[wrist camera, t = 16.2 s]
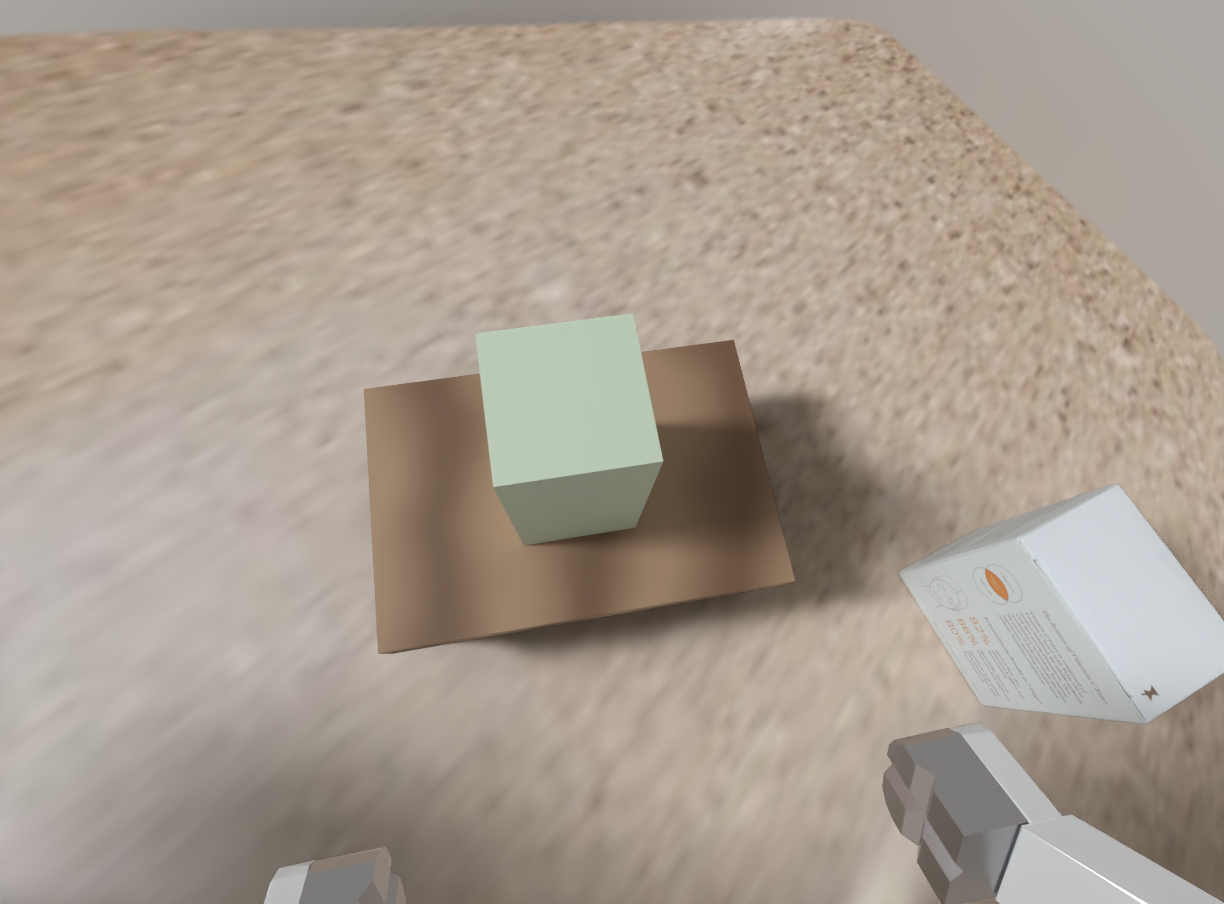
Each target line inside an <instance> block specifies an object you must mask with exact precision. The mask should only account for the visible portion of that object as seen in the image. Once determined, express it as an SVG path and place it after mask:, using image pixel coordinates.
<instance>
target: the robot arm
mask: <svg viewBox="0 0 1224 904" xmlns="http://www.w3.org/2000/svg"><path fill="white" fill-rule="evenodd" d="M887 755H888V757H889V759H890V760H891V762H892V765H891V766H890V767H889V768H888V769H887V770H886V771H885V772H884V776H883V785H882V787H883V792H884V796H885V801H886V805H887V807H888V809H889V812H890V814H891V817H892V819H893V821H894V822H895V824H896V826H897V828H898V830H899V831H900V833H901V834H902V835H903V836H905V837H906V838H908V839H909V840H911V841H912V842H913V843H915V844H916V845H918V858H917V863H918V864H919V866H920V868H921V870H922V871H923V873H924V875H925V876H926V878H927V880H928V882H929V883H930V885H931V887H932V888H933V890H934V892H935V894H936V895H937V897H938V899H939V900H940V902H941V904H960V903H965V902H970V901H975V900H980V899H985V898H990V897H995V896H997V897H996V901H998V902H999V903H1000V904H1224V902H1222V901H1220V900H1219V899H1217V898H1215V897H1213V896H1212V895H1210V894H1208V893H1206V892H1205V891H1203V890H1201V889H1200V888H1198V887H1196V886H1194V885H1193V884H1191V883H1189V882H1187V881H1186V880H1184V879H1182V878H1181V877H1179V876H1177V875H1175V874H1174V873H1172V872H1170V871H1168V870H1167V869H1165V868H1163V867H1162V866H1160V865H1158V864H1156V863H1155V862H1153V861H1151V860H1149V859H1148V858H1146V857H1144V856H1143V855H1141V854H1139V853H1137V852H1136V851H1134V850H1132V849H1130V848H1129V847H1127V846H1125V845H1124V844H1122V843H1120V842H1118V841H1117V840H1115V839H1113V838H1112V837H1110V836H1108V835H1106V834H1105V833H1103V832H1101V831H1099V830H1098V829H1096V828H1094V827H1093V826H1091V825H1089V824H1087V823H1086V822H1084V821H1082V820H1080V819H1079V818H1077V817H1075V816H1074V815H1072V814H1070V815H1064V816H1062V815H1061V813H1060V812H1059V811H1058V810H1057V809H1056V807H1055V806H1054V805H1053V804H1052V803H1051V802H1050V800H1049V799H1048V798H1047V797H1046V796H1045V794H1044V793H1043V792H1042V791H1041V790H1040V788H1039V787H1038V786H1037V785H1036V784H1035V782H1034V781H1033V780H1032V779H1031V778H1030V777H1029V775H1028V774H1027V773H1026V772H1025V771H1024V769H1023V768H1022V767H1021V766H1020V765H1019V763H1018V762H1017V761H1016V760H1015V759H1014V757H1013V756H1012V755H1011V754H1010V753H1009V752H1008V750H1007V749H1006V748H1005V747H1004V746H1003V744H1002V743H1001V742H1000V741H999V740H998V738H997V737H996V736H995V735H994V734H993V732H992V731H991V730H990V729H989V728H988V727H986V726H985V725H983V724H982V723H971V724H967V725H962V726H958V727H953V728H945V729H941V730H936V731H932V732H928V733H923V734H919V735H915V736H910V737H906V738H902V739H897V740H894V741H893V742H891V743H890V744H889V748H888V753H887ZM391 862H392V858H391V856H390V854H389V852H388V850H387V848H386V847H381V848H376V849H371V850H366V851H361V852H356V853H351V854H347V855H342V856H337V857H332V858H327V859H322V860H314V861H309V862H305V863H300V864H295V865H291V866H286V867H282V868H279V869H278V871H277V873H276V874H275V876H274V878H273V879H272V881H271V883H270V886H269V889H268V892H267V895H266V898H265V902H264V904H406V899H405V893H404V888H403V884H402V881H401V879H400V876H398V875H396V874H394V873H392V872H390V869H391Z"/></svg>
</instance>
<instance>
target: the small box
mask: <svg viewBox="0 0 1224 904" xmlns="http://www.w3.org/2000/svg"><path fill="white" fill-rule="evenodd" d="M899 575H900V577H901V578H902V580H903V581H904V583H905V584H906V586H907V587H908V589H909V591H910V592H911V594H912V595H913V597H914V599H915V600H916V602H917V603H918V605H919V607H920V608H921V610H922V611H923V613H924V615H925V616H926V618H927V619H928V621H929V622H930V624H931V625H932V627H933V629H934V630H935V632H936V633H937V635H938V637H939V638H940V640H941V641H942V643H943V645H944V646H945V648H946V649H947V651H948V653H949V654H950V656H951V657H952V659H953V660H954V662H955V663H956V665H957V667H958V668H959V670H960V671H961V673H962V674H963V676H964V678H965V679H966V681H967V682H968V684H969V686H970V687H971V689H972V690H973V692H974V694H975V695H976V697H977V698H978V700H979V702H980V703H981V704H982V705H983V706H986V707H995V708H1005V709H1014V710H1023V711H1031V712H1042V713H1050V714H1058V715H1068V716H1076V717H1083V718H1092V719H1100V720H1110V721H1119V722H1127V723H1136V724H1147V723H1149V722H1150V721H1152V720H1153V719H1155V718H1156V717H1158V716H1159V715H1161V714H1162V713H1164V712H1165V711H1167V710H1169V709H1170V708H1172V707H1173V706H1175V705H1176V704H1178V703H1179V702H1181V701H1182V700H1184V699H1185V698H1187V697H1188V696H1190V695H1191V694H1193V693H1194V692H1196V691H1197V690H1199V689H1200V688H1202V687H1203V686H1205V685H1206V684H1208V683H1209V682H1211V681H1212V680H1214V679H1215V678H1217V677H1219V676H1220V675H1222V674H1223V673H1224V620H1223V618H1222V617H1221V616H1220V614H1219V613H1218V612H1217V611H1216V609H1215V608H1214V607H1213V606H1212V604H1211V603H1210V602H1209V600H1208V599H1207V598H1206V597H1205V595H1204V594H1203V593H1202V591H1201V590H1200V589H1199V587H1198V586H1197V585H1196V583H1195V582H1194V581H1193V580H1192V578H1191V577H1190V576H1189V574H1188V573H1187V572H1186V571H1185V569H1184V568H1183V567H1182V565H1181V564H1180V563H1179V561H1178V560H1177V559H1176V557H1175V556H1174V555H1173V554H1172V552H1171V551H1170V550H1169V549H1168V547H1167V546H1166V544H1165V543H1164V542H1163V541H1162V539H1161V538H1160V537H1159V535H1158V534H1157V533H1156V532H1155V530H1154V529H1153V528H1152V526H1151V525H1150V524H1149V522H1148V521H1147V520H1146V518H1145V517H1144V516H1143V515H1142V513H1141V512H1140V511H1139V509H1138V508H1137V507H1136V505H1135V504H1134V503H1133V502H1132V500H1131V499H1130V498H1129V496H1128V495H1127V494H1126V492H1125V491H1124V490H1123V488H1122V487H1121V486H1120V485H1119V484H1111V485H1108V486H1105V487H1102V488H1099V489H1096V490H1093V491H1090V492H1087V493H1084V494H1081V495H1078V496H1075V497H1072V498H1069V499H1066V500H1063V501H1060V502H1057V503H1054V504H1051V505H1048V506H1044V507H1041V508H1038V509H1035V510H1032V511H1030V512H1027V513H1024V514H1021V515H1018V516H1015V517H1012V518H1009V519H1006V520H1003V521H1000V522H997V523H994V524H991V525H988V526H985V527H982V528H980V529H977V530H974V531H972V532H970V533H968V534H966V535H964V536H962V537H960V538H958V539H957V540H955V541H953V542H951V543H949V544H947V545H946V546H944V547H942V548H940V549H938V550H936V551H935V552H933V553H931V554H929V555H927V556H925V557H924V558H922V559H920V560H918V561H916V562H915V563H913V564H911V565H909V566H908V567H906V568H904V569H902V570H901V571H899Z"/></svg>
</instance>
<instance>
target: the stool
mask: <svg viewBox="0 0 1224 904" xmlns="http://www.w3.org/2000/svg"><path fill="white" fill-rule="evenodd" d="M641 355H642V360H643V365H644V370H645V375H646V379H647V384H648V389H649V394H650V399H651V404H652V409H653V413H654V418H655V423H656V428H657V433H658V438H659V443H660V448H661V452H662V457H663V463H662V466H661V468H660V470H659V473H658V475H657V478H656V480H655V482H654V485H653V487H652V489H651V492H650V494H649V497H648V499H647V501H646V504H645V506H644V508H643V511H642V513H641V515H640V518H639V520H638V523H637V525H636V527H635V528H630V529H624V530H618V531H611V532H605V533H599V534H593V535H587V536H580V537H574V538H568V539H562V540H556V541H549V542H543V543H537V544H531V545H525V546H524V545H523V543H522V541H521V539H520V538H519V536H518V534H517V532H516V530H515V528H514V526H513V524H512V522H511V520H510V518H509V516H508V515H507V513H506V511H505V509H504V507H503V505H502V503H501V501H500V499H499V497H498V495H497V494H496V492H495V490H494V488H493V481H492V473H491V464H490V456H489V447H488V439H487V430H486V422H485V413H484V405H483V396H482V388H481V379H480V374H474V375H466V376H459V377H451V378H444V379H436V380H429V381H421V382H414V383H406V384H399V385H391V386H384V387H376V388H369V389H364V399H365V418H366V436H367V454H368V473H369V491H370V510H371V528H372V546H373V565H374V583H375V602H376V620H377V639H378V653H380V654H393V653H399V652H405V651H410V650H416V649H422V648H428V647H433V646H439V645H445V644H451V643H456V642H462V641H468V640H474V639H479V638H485V637H491V636H497V635H502V634H508V633H514V632H520V631H525V630H531V629H537V628H543V627H548V626H554V625H560V624H566V623H571V622H577V621H583V620H589V619H594V618H600V617H606V616H612V615H617V614H623V613H629V612H635V611H640V610H646V609H652V608H658V607H663V606H669V605H675V604H681V603H686V602H692V601H698V600H704V599H709V598H715V597H721V596H727V595H732V594H738V593H744V592H750V591H755V590H761V589H767V588H773V587H778V586H783V585H786V584H789V583H791V582H794V581H795V578H794V574H793V570H792V566H791V562H790V558H789V554H788V550H787V546H786V543H785V539H784V535H783V531H782V527H781V523H780V519H779V515H778V511H777V507H776V504H775V500H774V496H773V492H772V488H771V484H770V480H769V476H768V472H767V468H766V464H765V461H764V457H763V453H762V449H761V445H760V441H759V437H758V433H757V429H756V425H755V422H754V418H753V414H752V410H751V406H750V402H749V398H748V394H747V390H746V386H745V382H744V379H743V375H742V371H741V367H740V363H739V359H738V355H737V351H736V347H735V343H734V340H729V341H722V342H714V343H707V344H699V345H692V346H684V347H677V348H669V349H662V350H654V351H647V352H641Z"/></svg>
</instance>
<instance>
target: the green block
mask: <svg viewBox="0 0 1224 904" xmlns="http://www.w3.org/2000/svg"><path fill="white" fill-rule="evenodd" d="M475 336H476V345H477V353H478V362H479V371H480V379H481V388H482V396H483V405H484V413H485V422H486V430H487V439H488V447H489V456H490V464H491V473H492V481H493V488H494V490H495V492H496V494H497V495H498V497H499V499H500V501H501V503H502V505H503V507H504V509H505V511H506V513H507V515H508V516H509V518H510V520H511V522H512V524H513V526H514V528H515V530H516V532H517V534H518V536H519V538H520V539H521V541H522V543H523V545H524V546H525V545H531V544H537V543H543V542H549V541H556V540H562V539H568V538H574V537H580V536H587V535H593V534H599V533H605V532H611V531H618V530H624V529H630V528H635V527H636V525H637V523H638V520H639V518H640V515H641V513H642V511H643V508H644V506H645V504H646V501H647V499H648V497H649V494H650V492H651V489H652V487H653V485H654V482H655V480H656V478H657V475H658V473H659V470H660V468H661V466H662V463H663V457H662V452H661V448H660V443H659V438H658V433H657V428H656V423H655V418H654V413H653V409H652V404H651V399H650V394H649V389H648V384H647V379H646V375H645V370H644V365H643V360H642V355H641V350H640V345H639V340H638V336H637V331H636V326H635V321H634V316H633V313H631V314H624V315H616V316H608V317H600V318H592V319H584V320H576V321H569V322H561V323H553V324H545V325H537V326H529V327H522V328H514V329H506V330H498V331H490V332H482V333H475Z"/></svg>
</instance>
